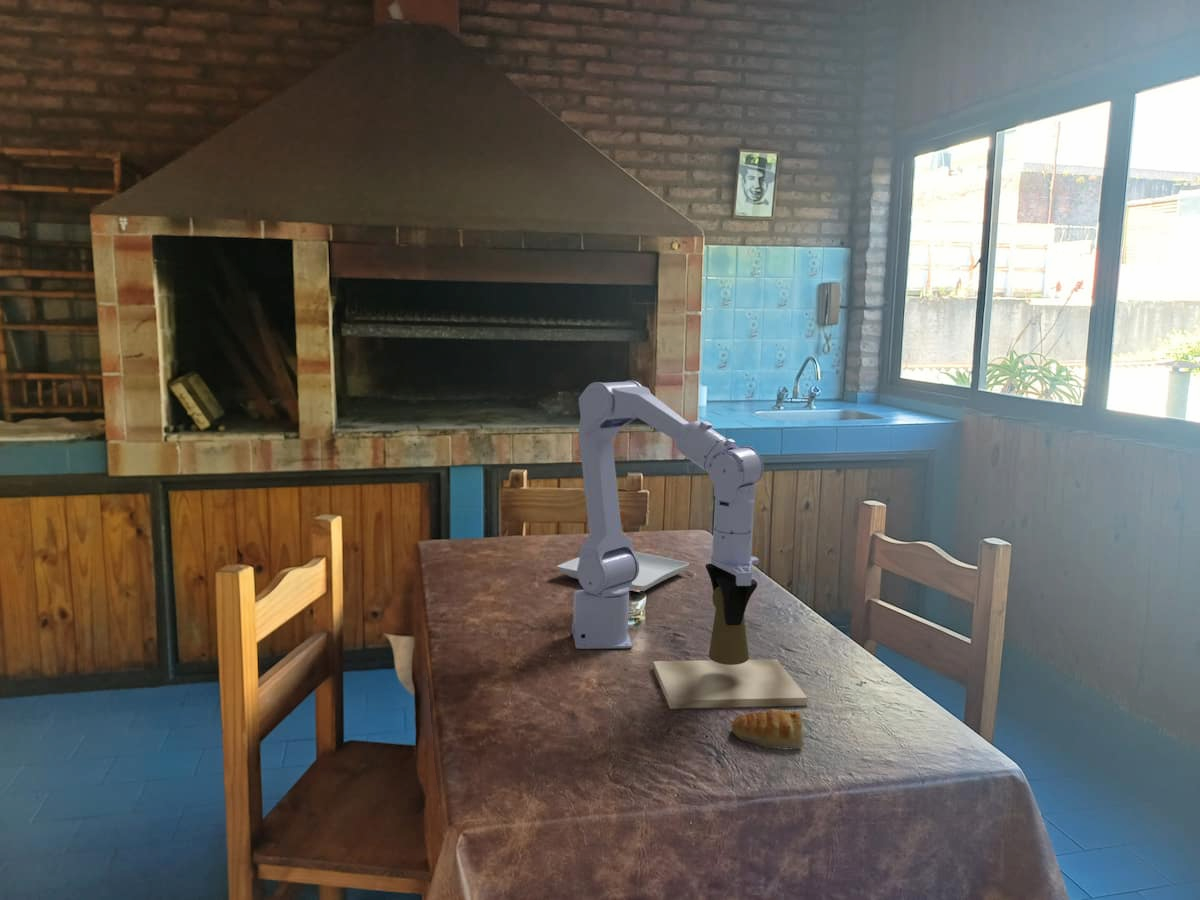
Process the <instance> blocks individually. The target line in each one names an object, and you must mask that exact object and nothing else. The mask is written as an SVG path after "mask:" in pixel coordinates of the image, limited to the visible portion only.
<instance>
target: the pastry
mask: <svg viewBox="0 0 1200 900" xmlns="http://www.w3.org/2000/svg"><path fill="white" fill-rule="evenodd" d="M731 731H732V733H733V734H734V735H735V736H736V737H737V738H738V739H740V740H741V741H745V742H749V743H752V744H755V743H756V744H755V745H759V746H760V745H761V746H760V747H764V746H770V747H769V748H774V747H780V748H779V749H781V748H788V749H787V750H790V749H791V748H792V749H798V750H800V749H799V748H801V749H802V748H803V746H804V745H805V744H804V743H805V741H804V740H805V739H804V737H805V736H804V731H803V715H802V713H800V712H799V711H797V710H795V711H793V712H790V711H786V710H781V709H774V708H771V709H770V708H769V709H767V710H764V711H763V710H761V711H759V712H754V711H753V712H749V713H746V714H742V715H739V716H737V717H735V718H734V720H733V722H732V725H731Z"/></svg>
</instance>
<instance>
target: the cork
mask: <svg viewBox="0 0 1200 900" xmlns="http://www.w3.org/2000/svg"><path fill="white" fill-rule="evenodd" d="M712 604H713V606H714V607H715V612H714V613H715V614H714V617H713V618H714V620H713V626H712V633H711V638H710V643H709V651H708V657H709V660H713V661H714V662H717V663H720V664H726V665H737V664H742V663H745V662H746V661H748V660H750V656H749V647H748V637H747V631H746V630H747V629H746V628H747V627H746V621H745V615H744V616H743V619H742V622H741V625H727V624H726V622H725V617H724V605H723V597H722V593H721V589H720V587H719V586H718V587H717V588H716V589H715V590H714V592H713V591H712Z"/></svg>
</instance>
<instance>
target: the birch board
mask: <svg viewBox="0 0 1200 900" xmlns="http://www.w3.org/2000/svg"><path fill="white" fill-rule="evenodd" d="M652 664H653V665H652V669H653V672H654V674H655V676H656V679H657V681H658V684H659V686H660V689H661V690H662V693H663V695H664V698H665V700H666V703H667V706H668V707H669V709H670V710H672V709H673V710H674V709H709V708H710V709H711V708H713V709H715V708H752V707H753V708H755V707H758V708H759V707H764V708H765V707H794V706H795V707H797V706H798V707H799V706H808V696H807V695H806V694H805V692H804V691H803V690H802V689H801V688H800V686H799V685H798V684H797V682H796V680H794V679H793V678H792V676H791V675H790V674H789V672H787V670H786V668H784V666H783V665H782V664H781V662H780V661H779V660H778V658H774V659H773V658H771V659H769V658H767V659H765V658H763V659H762V658H761V659H760V658H759V659H748V661H746V662H745V663H742V664H737V665H726V664H720V663H717V662H714V661H713V660H711V659H709V660H702V659H701V660H655V661H653V662H652Z"/></svg>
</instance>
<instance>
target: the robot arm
mask: <svg viewBox="0 0 1200 900" xmlns="http://www.w3.org/2000/svg"><path fill="white" fill-rule="evenodd" d="M650 390H651V389H650V388H649V387H646V386H644V385H642V384H641V383H640V382H639V381H635V380H626V381H615V382H614V381H612V382H601V381H600V382H599V381H597V382H596V381H595V382H591V383H590V384H588V385H587V386H586V387H585V389H584V390H583V391H582V393H581V394H580V396H578V407H579V415H580V420H579V426H578V440H579V441H578V442H579V448H580V449H579V451H580V458H581V459H580V460H581V468H582V469H581V470H582V478H583V487H584V495H585V497H584V498H585V504H586V515H587V524H588V536H587V538H586V539H585V540H584V542H583V543H582V544H581V546H580V547H579V549H578V553H579V554H578V557H580V558H579V564H578V568H577V575H578V579H579V580H578V579H577V580H578V582H579V584H580V586H581V587H582V588H583V589H577V590H576V589H575V590H574V592H573V606H572V607H573V608H572V609H573V613H572V622H571V633H572V636H573V642H574V647H575V648H576V649H579V650H582V649H583V650H588V649H589V650H590V649H592V650H595V649H597V650H599V649H632V648H633V647H634V646H633V645H634V644H633V643H632V639H631V637H630V634H629V607H630V606H629V604H630V603H629V602H630V592H629V589H631V588H632V582H633V581H634V580H635V579H636V578H637V576H638V573H639V562H638V559H637V556H636V555H635V552H636V551H635V550H634V545H633V544H634V543H633V540H632V539H631V538H630V537H629V536H628V535H626V534H625V533H624V532H623V529H622V521H621V511H620V503H619V502H620V501H619V491H618V490H619V489H618V484H617V483H618V482H617V471H616V466H615V465H616V463H615V453H614V446H613V439H614V437H615V436H616V435H617V434H618V433H619V432H620V431H621V429H622V428H623V427H624V426H626V425H627V424H629V423H631V422H632V421H634V420H636V419H638V420H641V422H644V423H645V424H647V425H649V426H651V427H652V428H653V429H656V430H658V431H659V432H661V433H662V434H664V435H665V436H667V437H669V438H671V439H673V440H674V441H675V443H676V450H677V451H678V453H679V454H681V455H682V456H684V457H685V458H687V460H689V461H691V462H692V463H694V464H695V465H696V466H698V467H699V468H700V469H702V470H703V471H705V473H707V474H708V478H709V480H710V483H711V484H712V486H713V496H714V512H713V534H712V551H711V552H712V553H711V556H710V563H706V564H705V568H706V571H707V573H708V576H709V579H710V582H711V586H712V587H711V588H712V593H713V592H714V590H715V589H716V588H717V587H718V586H719V587H720V589H721V593H722V597H723V605H724V617H725V622H726V624H727V625H741V622H742V619H743V616H744V617H745V612H746V608H747V606H748V603H749V600H750V598H751V597H752V595H753V593H754V592H755V590H756V589H757V587H758V582H757V581H756V579H753V578H752V575H753V574H752V573H753V572H752V571H751V570H752V566H754V565H759V564H760V563H759V561H760V559H759V558H758V557H756V556H752V549H753V548H752V547H753V546H752V544H753V531H754V516H755V515H754V514H755V513H754V512H755V499H756V498H755V495H756V484H757V483H758V482H759V481H760V480H761V478H762V477H763V474H764V470H765V467H764V460H763V458H762V456H761V455H760V453H758V452H757V450H755V448H754V447H752V446H751V445H749V446H748V445H744V446H737V444H736V443H737V442H736V441H735V440H734V439H733V438H726V437H725V436H723V435H722V434H720V433H719V432H718V431H716V430H714V429H713V428H712V427H713V424H712V423H710V422H709V421H707V420H705V421H700V420H695V421H694V420H693V421H692V422H691V421H690V422H689V421H687V420H686V419H685V418H683V417H682V416H681V415H679V414H678V413H676V412H675V411H674V410H673V409H672V408H670V407H669V406H667V404H665V403H664V402H663V401H661V400H660V399H659V398H657V397H656V396H655V395H653V394H652V393H651V391H650ZM634 551H635V552H634Z"/></svg>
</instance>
